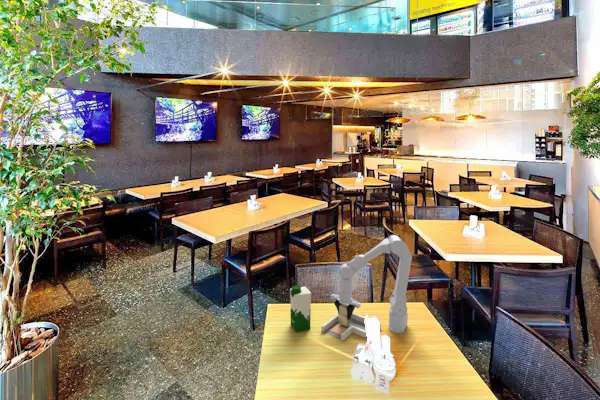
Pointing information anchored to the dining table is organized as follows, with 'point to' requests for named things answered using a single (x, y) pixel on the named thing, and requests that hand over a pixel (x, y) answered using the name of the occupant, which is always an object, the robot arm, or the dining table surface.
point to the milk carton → (300, 308)
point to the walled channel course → (345, 327)
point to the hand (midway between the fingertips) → (344, 317)
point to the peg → (343, 315)
